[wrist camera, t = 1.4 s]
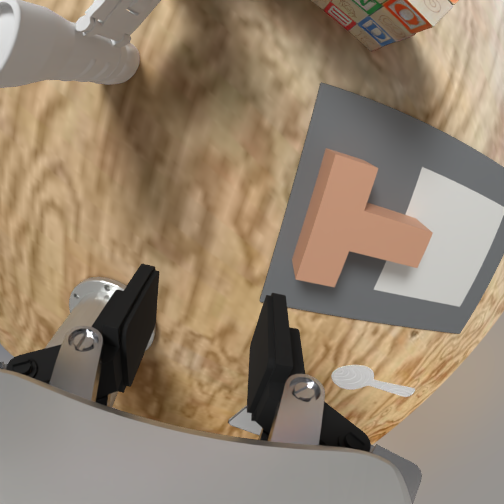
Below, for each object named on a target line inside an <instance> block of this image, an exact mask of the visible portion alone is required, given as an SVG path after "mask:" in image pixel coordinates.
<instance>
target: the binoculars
mask: <svg viewBox="0 0 504 504" xmlns="http://www.w3.org/2000/svg"><path fill="white" fill-rule="evenodd" d="M160 1H161V0H94V2H93V4H92V5H91V6H90V7H89V8H88V9H87V11H86V12H85V13H86V15H84V16H82V17H80V18H79V19H78V21H77V22H76V23H73V22H70V21H67V20H66V19H64V18H63V17H61V16H60V15H58V14H56V13H55V12H53V11H51V10H50V9H48V8H46V7H43V6H40V5H36V4H33V3H29V2H25V1H22V0H0V88H4V87H16V86H22V85H26V84H30V83H34V82H38V81H43V80H61V81H72V80H74V81H79V82H88V81H89V82H94V83H97V84H106V85H111V84H120V83H123V82H125V81H127V80H129V79H130V78H131V77H132V76H133V75H134V74H135V72H136V71H137V69H138V66H139V62H140V55H139V52H138V49H137V48H136V47H135V46H134V45H133V44H131V43H130V40H131V37H130V35H131V34H132V33H133V32H134V31H135V30H136V29H137V28H138V27H139V26H140V24H141V23H142V22H143V21H144V20H145V19H146V17H147V16H148V15H149V14H150V13H151V12H152V10H153V9H154V8H155V7H156V6H157V4H158V3H159V2H160ZM126 9H128V10H129V11H130V12H129V11H127V10H126ZM98 19H99V20H98ZM97 20H98V21H97Z"/></svg>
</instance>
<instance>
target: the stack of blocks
mask: <svg viewBox="0 0 504 504" xmlns="http://www.w3.org/2000/svg"><path fill="white" fill-rule="evenodd" d="M311 1H312V2H314V3H315V4H316V5H318V6H319V7H320V8H322V9H323V10H324V11H325V12H326V13H327V14H328V15H330V16H331V17H332V18H333V19H335V20H336V21H337V22H338V23H340V24H341V25H342V26H343V27H344V28H346V29H347V30H348V31H349V32H350V33H351V34H352V35H353V36H354V37H356V38H357V39H358V40H359V41H360V42H361V43H362V44H363V45H364V46H366V47H367V48H368V49H369V50H370V51H374V50H376V49H379V48H381V47H382V46H385V45H388V44H390V43H393V42H396V41H400V40H403V39H406V38H409V37H411V36H414V35H415V34H416V33H417V32H420V31H423V30H426V29H429V28H432V27H434V26H435V25H436V24H437V23H438V21H439V20H440V19H441V18H442V17H443V16H444V15H445V14H446V13H447V12H448V11H449V10H450V9H451V8H452V7H453V6H452V5H454V4H456V3H457V2H458V1H459V0H311Z"/></svg>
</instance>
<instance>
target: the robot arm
mask: <svg viewBox="0 0 504 504" xmlns="http://www.w3.org/2000/svg"><path fill="white" fill-rule="evenodd" d="M158 283H159V271H156V270H155V267H154V266H150V265H145V264H141V265H140V267H139V268H138V270H137V271H136V273H135V274H134V276H133V277H132V279H131V280H130V282H129V283H128V285H127V286H126V285H124V284H122V283H120V282H118V281H116V280H113V279H109V278H104V277H91V278H88V279H85V280H83V281H82V282H80V283H79V284H78V285H77V286H76V287H75V288H74V290H73V291H72V293H71V296H70V299H69V308H70V314H69V316H68V317H67V318H66V320H65V321H64V322H63V324H62V325H61V326H60V328H59V329H58V331H57V332H56V333H55V335H54V336H53V337H52V339H51V340H50V342H49V343H48V345H47V346H46V347H45V349H42V350H38V351H34V352H30V353H26V354H22V355H19V356H16V357H14V358H13V359H12V360H10V362H9V363H8V364H4V362H0V504H413V502H414V499H415V496H416V493H417V490H418V488H419V485H420V482H421V477H422V475H421V470H420V469H419V468H418V466H417V465H415V464H414V463H412V462H410V461H408V460H406V459H404V458H402V457H400V456H398V455H396V454H394V453H392V452H390V451H389V450H387V449H385V448H383V447H381V446H379V445H377V444H376V445H375V446H373V445H371V444H370V440H369V438H368V437H367V435H366V434H365V433H364V432H363V431H361V430H360V429H359V428H357V427H356V426H355V425H354V424H352V423H351V422H350V421H348V420H347V419H346V418H344V417H343V416H342V415H341V414H339V413H338V412H337V411H336V410H334V409H333V408H332V407H330V406H329V405H328V404H327V403H325V402H324V398H325V391H324V388H323V386H322V384H321V383H320V382H319V381H318V380H317V379H315V378H314V377H312V376H310V375H306V374H305V370H304V362H303V355H302V348H301V340H300V333H299V330H298V329H295V328H289V321H288V312H287V303H286V296H285V295H282V294H277V293H272V294H271V296H269V295H266V297H265V300H264V303H263V307H262V310H261V313H260V316H259V319H258V322H257V326H256V329H255V332H254V335H253V338H252V341H251V345H250V357H249V377H248V398H247V413H252V414H251V421H255V422H256V423H258V424H259V425H260V426H261V427H262V429H261V433H260V436H259V439H258V440H254V439H247V438H240V437H233V436H227V435H221V434H215V433H209V432H204V431H199V430H194V429H189V428H185V427H180V426H176V425H171V424H167V423H163V422H159V421H155V420H152V419H148V418H144V417H141V416H137V415H134V414H130V413H127V412H124V411H120V410H117V409H114V408H112V406H113V403H114V401H115V398H116V396H117V394H118V391H119V392H123V393H124V390H125V388H126V386H129V387H130V386H131V385H132V382H133V380H134V377H135V375H136V372H137V370H138V367H139V365H140V362H141V360H142V357H143V355H144V352H145V351H146V350H147V349H148V348H149V347H150V346H151V344H152V342H153V340H154V336H155V332H156V325H155V324H156V311H157V296H158Z"/></svg>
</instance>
